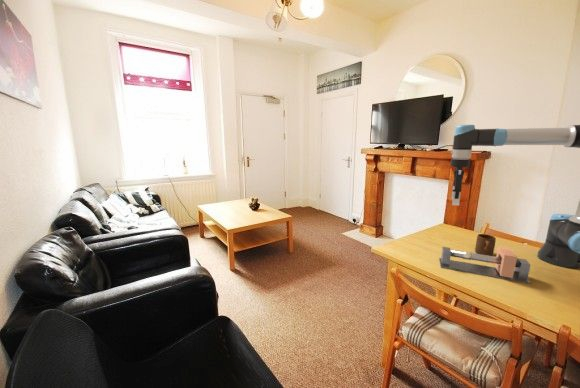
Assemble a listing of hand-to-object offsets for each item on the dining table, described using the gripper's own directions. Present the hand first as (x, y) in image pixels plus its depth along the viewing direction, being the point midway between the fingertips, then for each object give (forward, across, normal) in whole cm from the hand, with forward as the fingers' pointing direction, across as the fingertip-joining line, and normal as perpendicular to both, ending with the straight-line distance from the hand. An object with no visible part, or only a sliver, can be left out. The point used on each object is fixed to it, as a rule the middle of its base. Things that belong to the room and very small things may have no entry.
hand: (454, 202), depth 126 cm
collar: (+26, +11, +20) cm, 35 cm away
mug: (+28, -7, +16) cm, 33 cm away
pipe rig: (+28, +12, +12) cm, 33 cm away
